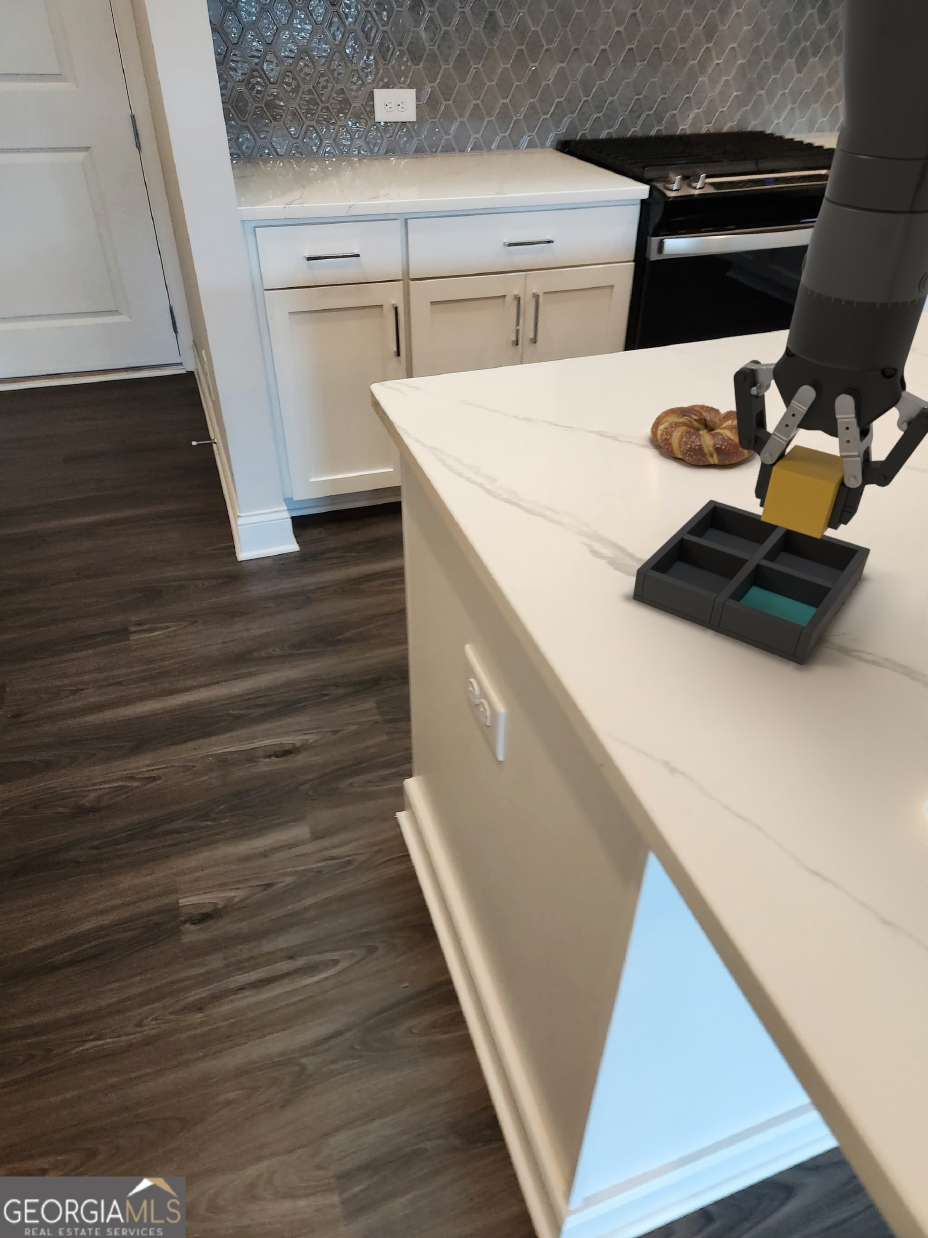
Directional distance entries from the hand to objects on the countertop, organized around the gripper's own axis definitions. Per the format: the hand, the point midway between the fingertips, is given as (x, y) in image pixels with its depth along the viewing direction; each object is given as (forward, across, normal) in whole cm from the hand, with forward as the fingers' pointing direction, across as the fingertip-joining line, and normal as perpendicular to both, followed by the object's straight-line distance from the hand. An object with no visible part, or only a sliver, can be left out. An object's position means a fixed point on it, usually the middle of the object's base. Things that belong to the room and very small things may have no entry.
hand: (801, 513), depth 62 cm
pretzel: (+11, +18, -26) cm, 34 cm away
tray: (+10, +3, -3) cm, 11 cm away
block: (0, 0, 0) cm, 0 cm away
